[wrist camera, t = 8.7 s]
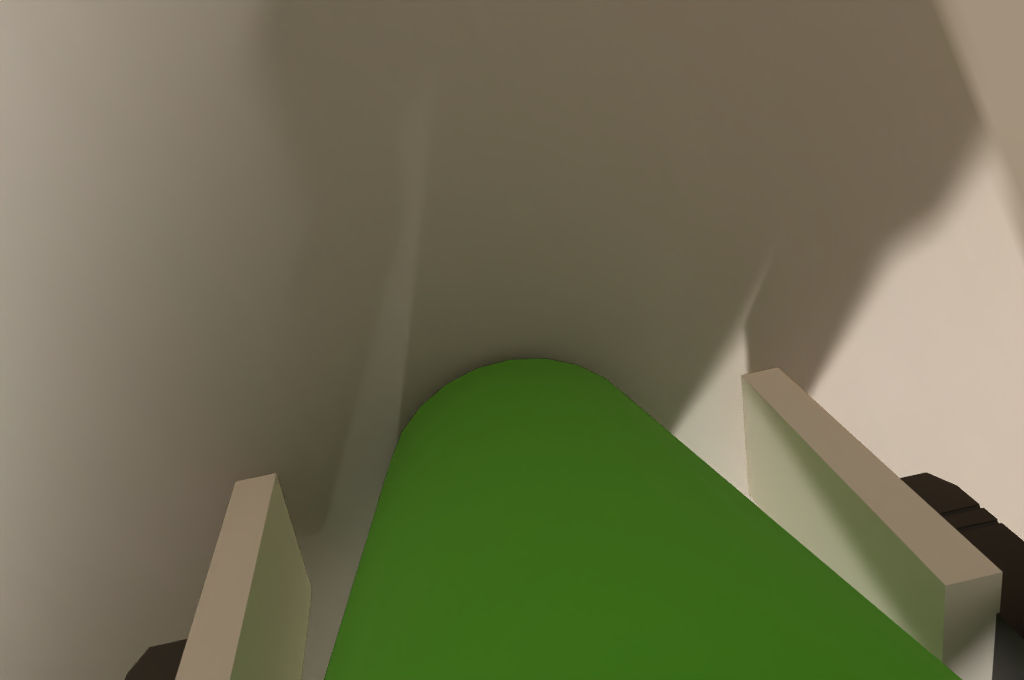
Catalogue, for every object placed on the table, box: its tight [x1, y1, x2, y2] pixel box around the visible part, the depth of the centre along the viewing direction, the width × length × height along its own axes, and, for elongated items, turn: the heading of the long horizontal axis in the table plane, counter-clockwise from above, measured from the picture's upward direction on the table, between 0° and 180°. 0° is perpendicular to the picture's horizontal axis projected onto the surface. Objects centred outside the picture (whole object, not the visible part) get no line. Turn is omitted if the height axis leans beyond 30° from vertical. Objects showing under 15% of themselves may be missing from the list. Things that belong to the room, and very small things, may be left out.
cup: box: [324, 358, 962, 680], centre depth 12 cm, size 9×9×11 cm
